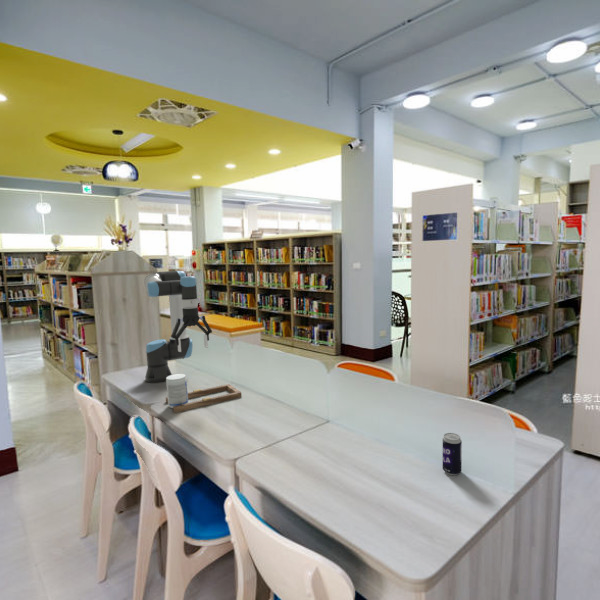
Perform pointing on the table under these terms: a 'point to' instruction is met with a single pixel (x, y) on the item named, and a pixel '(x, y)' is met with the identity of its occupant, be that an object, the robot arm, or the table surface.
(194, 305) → the robot arm
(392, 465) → the table surface
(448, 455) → the beverage can
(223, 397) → the beam track
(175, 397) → the supplement tub
